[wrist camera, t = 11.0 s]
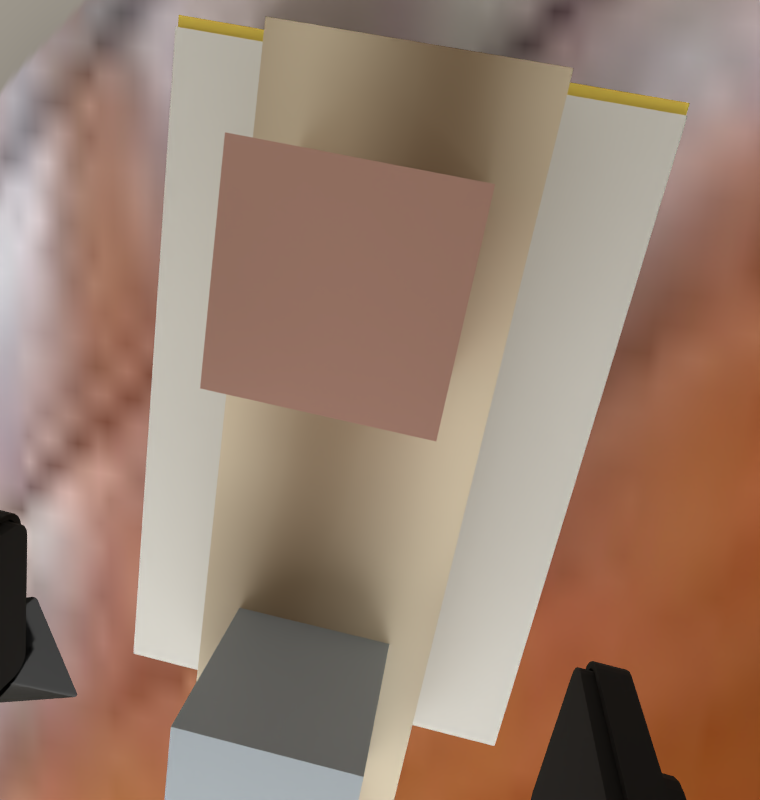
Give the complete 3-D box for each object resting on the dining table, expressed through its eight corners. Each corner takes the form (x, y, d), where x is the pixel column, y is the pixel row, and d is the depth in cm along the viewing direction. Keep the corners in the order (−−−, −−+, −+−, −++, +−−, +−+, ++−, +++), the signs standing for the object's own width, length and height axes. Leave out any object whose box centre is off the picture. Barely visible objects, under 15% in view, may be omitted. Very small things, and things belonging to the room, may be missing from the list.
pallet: (550, 98, 16) (573, 67, 12) (400, 725, 22) (385, 834, 18) (314, 58, 16) (265, 16, 13) (234, 683, 23) (186, 780, 19)
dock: (641, 124, 20) (691, 102, 15) (491, 648, 27) (494, 745, 22) (243, 54, 21) (176, 13, 16) (192, 575, 28) (133, 653, 23)
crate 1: (489, 187, 13) (495, 184, 9) (446, 376, 14) (435, 441, 10) (297, 151, 13) (225, 132, 9) (271, 338, 14) (199, 388, 11)
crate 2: (389, 643, 16) (363, 776, 13) (363, 761, 18) (333, 914, 14) (239, 607, 17) (170, 727, 13) (224, 726, 18) (158, 865, 14)
